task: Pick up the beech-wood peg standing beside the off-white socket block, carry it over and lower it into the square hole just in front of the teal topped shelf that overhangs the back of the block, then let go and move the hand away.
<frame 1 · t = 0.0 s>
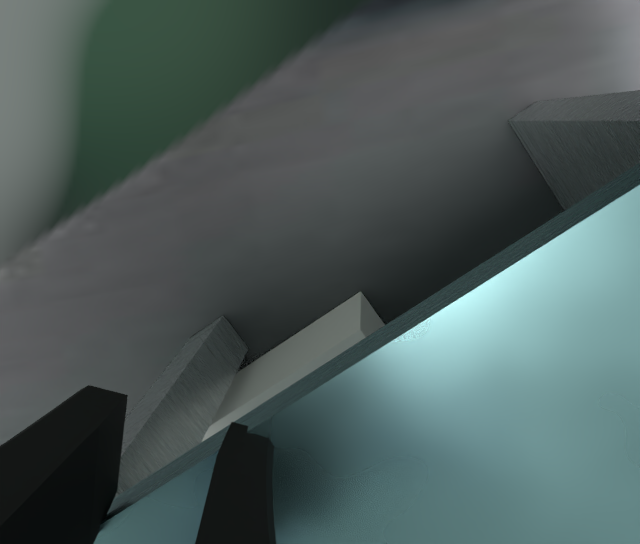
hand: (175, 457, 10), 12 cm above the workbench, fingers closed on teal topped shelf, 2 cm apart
teal topped shelf: (494, 431, 22), on the workbench
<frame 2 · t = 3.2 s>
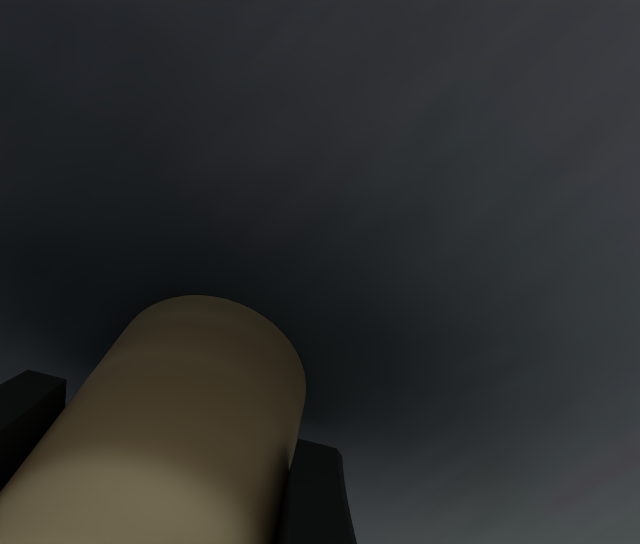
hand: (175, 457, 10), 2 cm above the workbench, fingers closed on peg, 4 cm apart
peg: (209, 381, 11), on the workbench, touching gripper
when the fingers open (5 cm above the workbench, at t = 6.5 s): peg drops 2 cm, resting on socket block.
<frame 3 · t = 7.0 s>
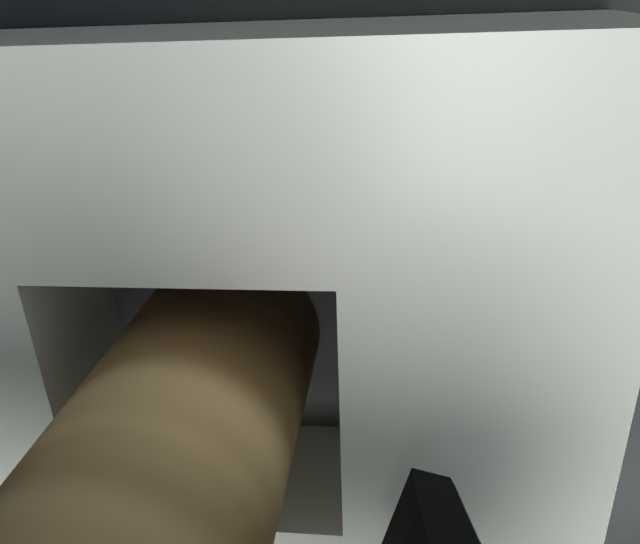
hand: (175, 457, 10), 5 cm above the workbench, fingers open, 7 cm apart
socket block: (258, 444, 16), on the workbench
peg: (235, 328, 13), point 1 cm above the workbench, touching socket block
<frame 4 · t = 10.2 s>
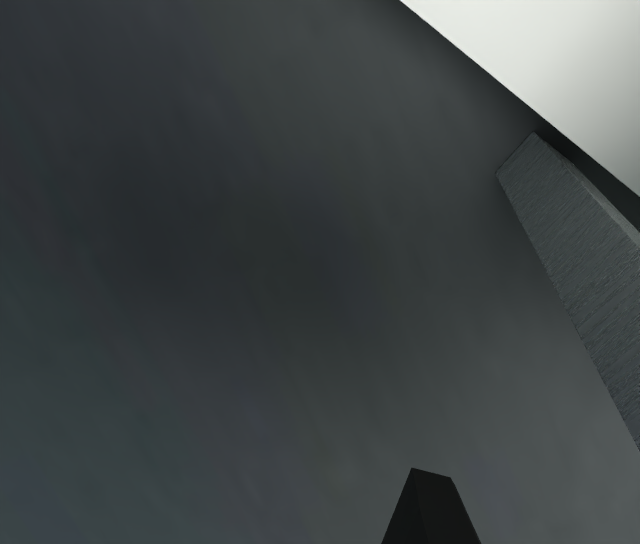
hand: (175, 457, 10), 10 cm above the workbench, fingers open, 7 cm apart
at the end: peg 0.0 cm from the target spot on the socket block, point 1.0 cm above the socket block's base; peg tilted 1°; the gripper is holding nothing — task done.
